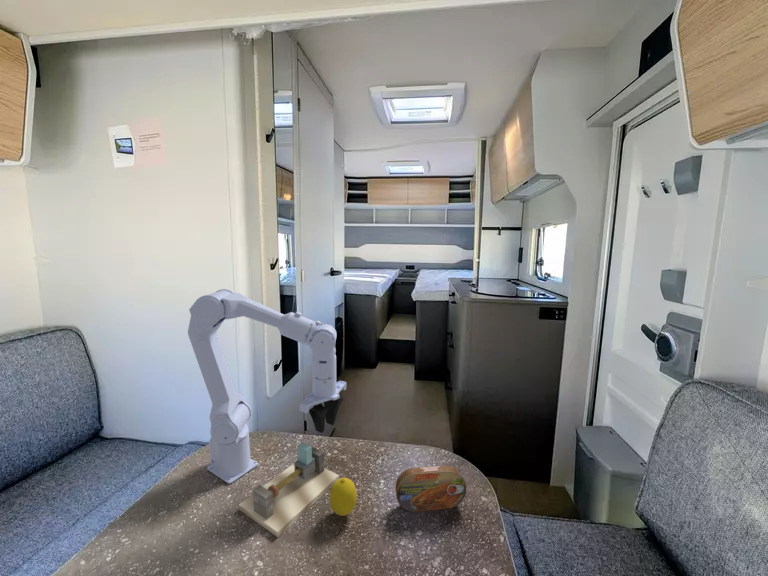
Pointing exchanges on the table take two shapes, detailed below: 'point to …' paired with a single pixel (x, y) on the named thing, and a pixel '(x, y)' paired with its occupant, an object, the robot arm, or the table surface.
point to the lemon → (343, 496)
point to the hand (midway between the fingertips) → (325, 427)
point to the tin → (430, 488)
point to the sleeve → (304, 460)
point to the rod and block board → (288, 496)
